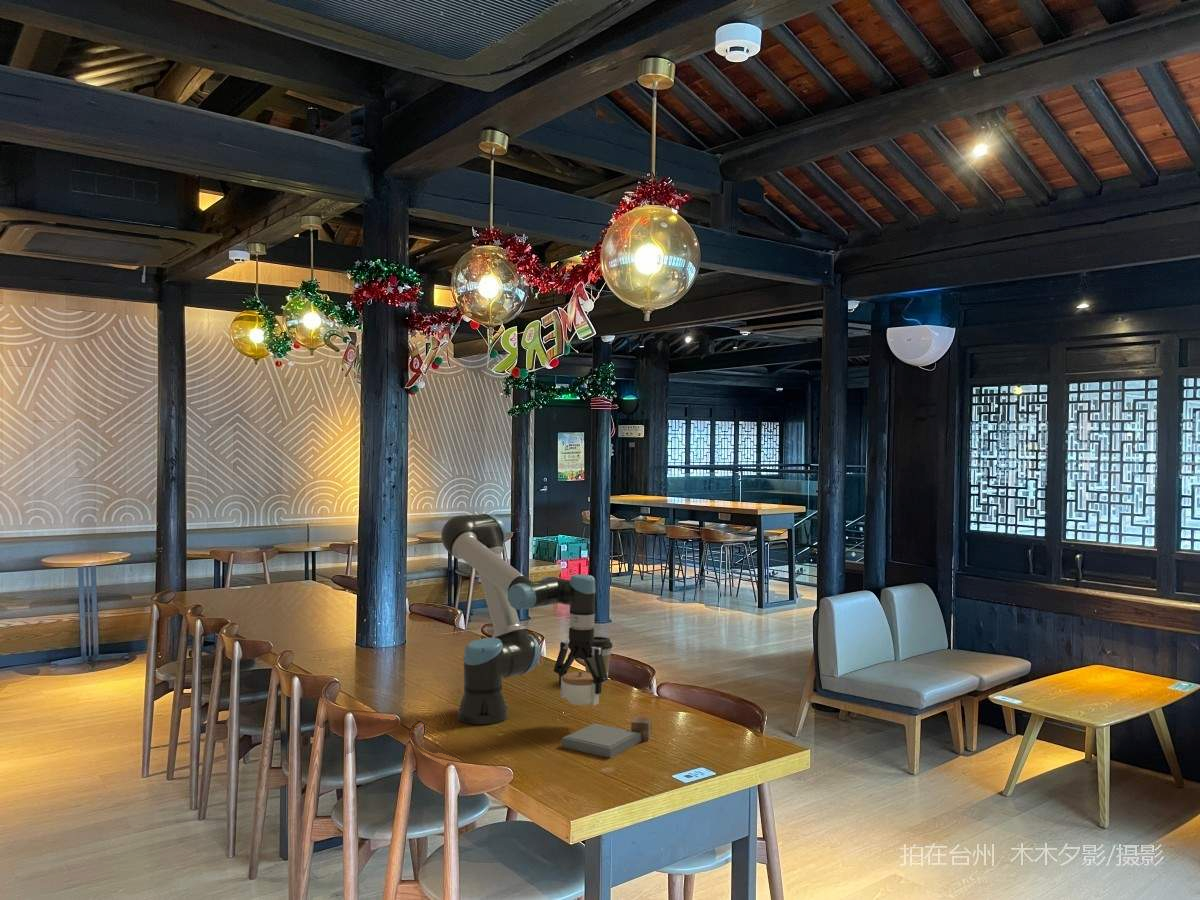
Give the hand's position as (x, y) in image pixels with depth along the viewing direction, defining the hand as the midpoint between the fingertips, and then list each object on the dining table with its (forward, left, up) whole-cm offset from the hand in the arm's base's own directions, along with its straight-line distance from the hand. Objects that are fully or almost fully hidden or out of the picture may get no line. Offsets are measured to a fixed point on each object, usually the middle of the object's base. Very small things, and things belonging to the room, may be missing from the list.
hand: (579, 700), depth 251 cm
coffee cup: (-24, +46, -8) cm, 53 cm away
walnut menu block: (+21, +1, -8) cm, 22 cm away
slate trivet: (+15, -10, -7) cm, 19 cm away
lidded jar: (0, 0, -1) cm, 1 cm away
